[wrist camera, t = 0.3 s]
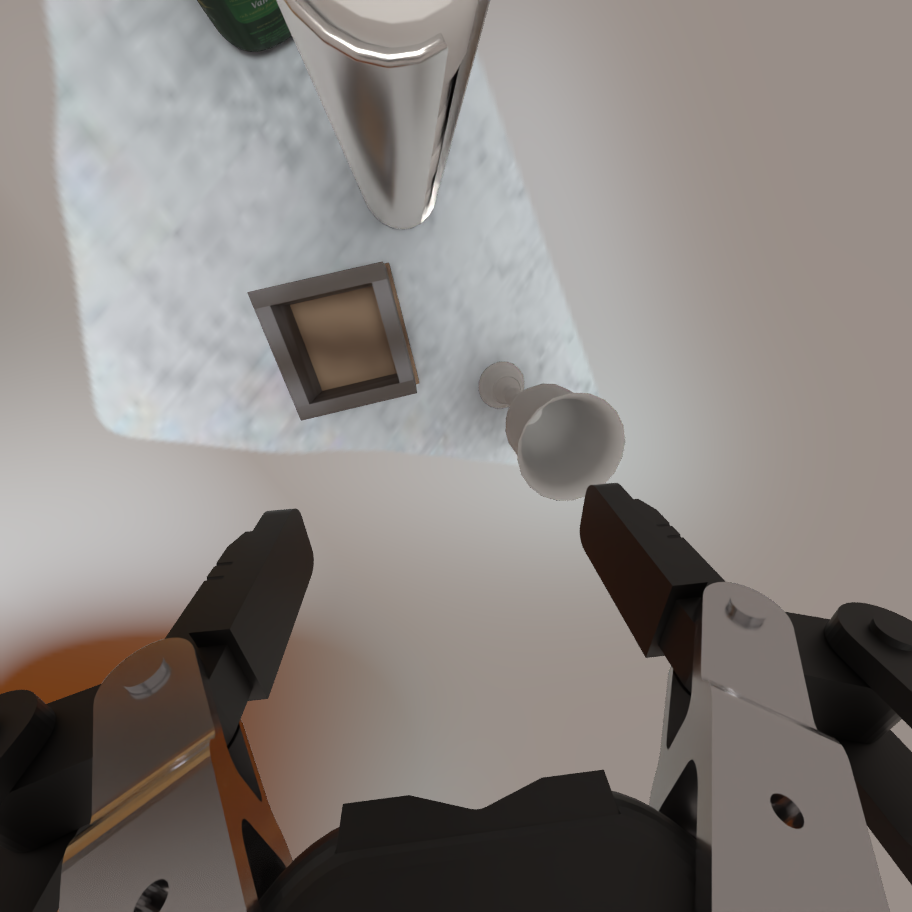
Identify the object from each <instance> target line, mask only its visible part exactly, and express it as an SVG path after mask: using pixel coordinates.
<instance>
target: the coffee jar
mask: <svg viewBox="0 0 912 912" xmlns="http://www.w3.org/2000/svg"><path fill="white" fill-rule="evenodd" d="M197 1H198V3H199V4H200V6H201V7H202V8H203V10H204V11H205V13H206V14H207V16H208V17H209V19H210V20H211V21H212V23H213V24H214V26H215V27H216V28H217V30H218V31H219V32H220V33H221V34H222V36H223V37H224V38H226V39H227V40H228V41H229V42H230V43H232V44H233V45H235V46H236V47H238V48H240V49H243V50H246V51H255V52H256V51H262V50H266V49H268V48H271V47H273V46H275V45H277V44H279V43H281V42H283V41H285V40H286V39H288V38H289V37H290V36H292V35H291V33H290V31H289V28H288V26H287V24H286V21H285V19H284V17H283V15H282V12H281V10H280V8H279V6H278V3H277V1H276V0H197Z"/></svg>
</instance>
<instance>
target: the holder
mask: <svg viewBox="0 0 912 912" xmlns="http://www.w3.org/2000/svg"><path fill="white" fill-rule="evenodd" d="M247 293H248V295H249V298H250V300H251V302H252V305H253V307H254V309H255V312H256V314H257V317H258V319H259V321H260V324H261V326H262V329H263V331H264V333H265V336H266V338H267V340H268V343H269V345H270V348H271V350H272V352H273V355H274V357H275V360H276V362H277V364H278V367H279V369H280V371H281V374H282V376H283V379H284V381H285V383H286V386H287V388H288V390H289V393H290V395H291V398H292V400H293V402H294V405H295V407H296V410H297V412H298V414H299V417H300V419H301V420H305V419H310V418H314V417H318V416H322V415H326V414H331V413H335V412H339V411H343V410H347V409H352V408H356V407H360V406H364V405H368V404H373V403H377V402H381V401H385V400H390V399H394V398H398V397H402V396H406V395H411V394H415V393H417V390H416V384H419V379H418V375H417V371H416V367H415V363H414V359H413V355H412V352H411V348H410V344H409V340H408V336H407V332H406V328H405V324H404V320H403V316H402V312H401V308H400V304H399V301H398V297H397V293H396V289H395V285H394V281H393V277H392V273H391V269H390V265H389V263H385V264H384V263H383V262H378V263H374V264H370V265H365V266H361V267H356V268H352V269H348V270H343V271H339V272H335V273H330V274H326V275H321V276H317V277H313V278H308V279H304V280H299V281H295V282H291V283H286V284H282V285H277V286H273V287H269V288H264V289H260V290H255V291H251V292H247Z"/></svg>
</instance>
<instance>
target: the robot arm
mask: <svg viewBox="0 0 912 912" xmlns="http://www.w3.org/2000/svg"><path fill="white" fill-rule="evenodd" d="M580 538H581V543H582V546H583V548H584V550H585V552H586V554H587V556H588V557H589V559H590V561H591V563H592V564H593V566H594V568H595V569H596V571H597V573H598V575H599V577H600V578H601V580H602V582H603V584H604V585H605V587H606V589H607V591H608V592H609V594H610V596H611V598H612V599H613V601H614V603H615V605H616V606H617V608H618V610H619V612H620V613H621V615H622V617H623V618H624V620H625V622H626V624H627V626H628V627H629V629H630V631H631V633H632V634H633V636H634V638H635V640H636V641H637V643H638V645H639V647H640V648H641V650H642V652H643V654H644V655H645V657H646V658H648V657H657V656H665V657H666V658H667V660H668V661H669V663H670V664H671V667H670V670H669V673H668V681H667V690H666V700H665V709H664V719H663V728H662V738H661V748H660V756H659V761H658V766H657V770H656V773H655V777H654V781H653V785H652V790H651V795H650V801H649V805H647V804H645V803H643V802H641V801H639V800H637V799H635V798H632V797H629V796H627V795H624V794H621V793H618V792H614V791H611V789H610V786H609V783H608V780H607V778H606V775H605V772H604V770H598V771H591V772H583V773H575V774H567V775H560V776H552V777H544V778H541V779H539V780H537V781H535V782H533V783H531V784H529V785H527V786H525V787H523V788H521V789H520V790H518V791H516V792H514V793H512V794H510V795H508V796H506V797H504V798H502V799H500V800H498V801H497V802H495V803H493V804H491V805H489V806H487V807H485V808H482V809H477V810H474V809H468V808H464V807H459V806H455V805H450V804H446V803H441V802H437V801H432V800H428V799H423V798H419V797H414V796H410V795H408V796H400V797H392V798H385V799H377V800H369V801H362V802H354V803H347V804H343V807H342V814H341V821H340V827H338V828H336V829H334V830H333V831H331V832H329V833H328V834H326V835H325V836H323V837H322V838H320V839H319V840H317V841H316V842H315V843H313V844H312V845H311V846H309V847H308V848H307V849H306V850H305V851H304V852H302V853H301V854H300V855H299V856H298V857H297V858H295V860H294V861H293V860H292V857H291V854H290V851H289V848H288V846H287V843H286V841H285V838H284V836H283V834H282V831H281V829H280V827H279V825H278V823H277V821H276V819H275V817H274V815H273V812H272V810H271V807H270V805H269V802H268V799H267V796H266V793H265V789H264V786H263V783H262V780H261V777H260V774H259V771H258V768H257V765H256V762H255V759H254V755H253V753H252V750H251V747H250V743H249V740H248V737H247V734H246V731H245V728H244V725H243V722H242V720H241V716H242V714H243V711H244V709H245V706H246V704H247V701H252V700H261V699H268V697H269V694H270V692H271V689H272V686H273V683H274V680H275V677H276V674H277V672H278V669H279V666H280V663H281V660H282V658H283V655H284V652H285V649H286V646H287V643H288V640H289V637H290V635H291V632H292V629H293V626H294V623H295V621H296V618H297V615H298V612H299V609H300V606H301V604H302V601H303V598H304V595H305V592H306V589H307V587H308V584H309V581H310V578H311V575H312V571H313V564H314V563H313V561H314V558H313V551H312V547H311V545H310V541H309V538H308V535H307V532H306V529H305V526H304V522H303V519H302V516H301V513H300V512H299V510H298V509H286V510H275V511H267V512H265V513H264V514H263V515H262V517H261V519H260V520H259V522H258V523H257V525H256V527H255V528H254V530H253V531H250V532H245V533H244V534H242V535H241V536H240V537H239V538H238V539H236V540H235V541H234V542H233V543H232V544H230V545H229V546H228V547H227V548H226V550H225V551H224V553H223V554H222V556H221V557H220V559H219V560H218V562H217V566H215V567H214V568H213V569H212V570H211V572H210V573H209V575H208V576H207V581H204V582H203V584H202V585H201V587H200V588H199V589H198V591H197V592H196V594H195V595H194V597H193V598H192V600H191V601H190V603H189V604H188V605H187V607H186V608H185V610H184V611H183V613H182V614H181V616H180V617H179V619H178V620H177V622H176V623H175V625H174V626H173V628H172V629H171V630H170V632H169V633H168V635H167V636H166V638H165V639H163V640H159V641H157V642H154V643H151V644H149V645H147V646H145V647H143V648H141V649H139V650H138V651H136V652H134V653H133V654H132V655H130V656H129V657H127V658H126V659H125V660H124V661H122V662H121V663H120V664H119V665H118V666H117V667H116V668H115V669H114V670H113V671H111V673H110V674H109V675H108V676H107V677H106V678H105V680H104V681H103V683H102V684H100V685H97V686H94V687H92V688H89V689H86V690H84V691H81V692H78V693H75V694H73V695H70V696H67V697H65V698H62V699H59V700H56V701H54V702H51V703H48V704H45V703H44V702H43V701H42V700H41V699H40V698H39V697H38V696H36V695H35V694H34V693H33V692H31V691H28V690H15V691H10V692H6V693H3V694H0V912H57V911H58V909H59V912H890V910H889V907H888V902H887V899H886V895H885V892H884V888H883V884H882V880H881V876H880V873H879V869H878V865H877V862H876V858H875V854H874V851H873V847H872V843H871V840H870V836H869V832H868V828H867V826H868V827H869V829H870V830H871V831H872V833H873V834H874V835H875V837H876V838H877V839H878V840H879V842H880V843H881V845H882V846H883V847H884V848H885V850H886V851H887V853H888V854H889V855H890V857H891V858H892V859H893V861H894V862H895V863H896V864H897V866H898V867H899V869H900V870H901V871H902V873H903V874H904V875H905V877H906V878H907V879H908V881H909V882H910V883H911V884H912V752H911V751H910V750H909V749H908V748H907V747H906V746H905V745H904V744H903V743H902V741H901V740H900V739H899V738H897V736H896V735H895V734H894V733H893V732H892V731H891V730H890V729H891V728H892V727H893V726H894V725H896V723H898V722H899V721H900V720H901V719H903V720H904V721H905V722H906V723H907V724H908V725H909V726H910V727H911V728H912V621H911V620H909V619H907V618H905V617H903V616H901V615H899V614H897V613H895V612H892V611H889V610H887V609H884V608H881V607H878V606H874V605H870V604H866V603H855V602H854V603H853V602H852V603H846V604H843V605H841V606H840V607H839V608H838V610H837V611H836V612H835V614H834V615H833V617H832V618H831V619H823V618H818V617H812V616H806V615H800V614H795V613H789V612H784V611H783V610H782V609H781V608H780V607H779V606H778V605H777V604H776V603H775V602H774V601H772V600H771V599H769V598H768V597H766V596H765V595H763V594H761V593H760V592H758V591H756V590H754V589H751V588H749V587H746V586H743V585H740V584H736V583H731V582H725V581H724V580H723V579H722V577H720V575H719V574H718V573H717V572H716V571H715V570H713V568H712V567H711V566H710V565H709V564H708V563H707V562H706V561H705V560H704V559H703V558H702V557H701V556H700V555H699V553H698V552H697V551H696V550H695V549H694V548H693V547H692V546H691V545H690V544H689V543H688V542H687V541H686V540H685V539H684V538H681V537H680V534H679V533H678V532H677V531H676V530H675V529H674V528H673V527H672V526H670V525H669V522H668V521H667V520H666V519H665V518H664V517H663V516H662V515H661V514H660V513H659V512H658V511H657V510H656V509H654V508H653V507H651V506H649V505H647V504H646V503H644V502H643V501H641V500H639V499H632V497H631V496H630V495H629V494H628V493H627V492H626V491H625V490H624V489H623V488H622V486H621V485H619V484H618V483H609V484H597V485H589V486H588V488H587V490H586V494H585V500H584V506H583V512H582V518H581V524H580Z"/></svg>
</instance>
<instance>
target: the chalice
mask: <svg viewBox="0 0 912 912" xmlns="http://www.w3.org/2000/svg"><path fill="white" fill-rule="evenodd" d="M479 393H480V396H481V398H482V399H483V401H484V402H485V403H486V404H488V405H489V406H491V407H494V408H506V407H509V406H510V407H509V409H508V412H507V417H506V435H507V438H508V442H509V444H510V445H511V447H512V448H513V450H514V451H515V453H516V454H517V456H518V458H517V460H518V463H519V467H520V471H521V474H522V476H523V478H524V479H525V481H526V482H527V483H528V485H529V486H530V488H532V489H533V490H535V491H536V492H537V493H539V494H540V495H541V496H543V497H547V498H550V499H553V500H556V501H558V500H559V501H560V500H575V499H578V498H582V497H585V494H586V490H587V488H588V486H589V485H597V484H605V483H606V481H608V480H609V478H610V477H611V476H612V475H613V474H614V473H615V471H616V469H617V467H618V465H619V463H620V461H621V459H622V455H623V450H624V445H625V436H624V427H623V424H622V422H621V420H620V418H619V415H618V413H617V411H616V410H615V409H614V408H613V407H612V406H611V405H610V404H609V403H607V402H606V401H605V400H604V399H601V398H599V397H597V396H594V395H592V394H589V393H573V392H571V391H569V390H568V389H566V388H563V387H561V386H558V385H556V384H540V385H537V386H534V387H530V388H527V389H525V390H524V378H523V374H522V373H521V371H520V369H519V368H518V367H516V366H515V365H514V364H512V363H509V362H497V363H494V364H492V365H491V366H489V367H488V368H486V370H485V371H484V372H483V374H482V375H481V378H480V380H479Z"/></svg>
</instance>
